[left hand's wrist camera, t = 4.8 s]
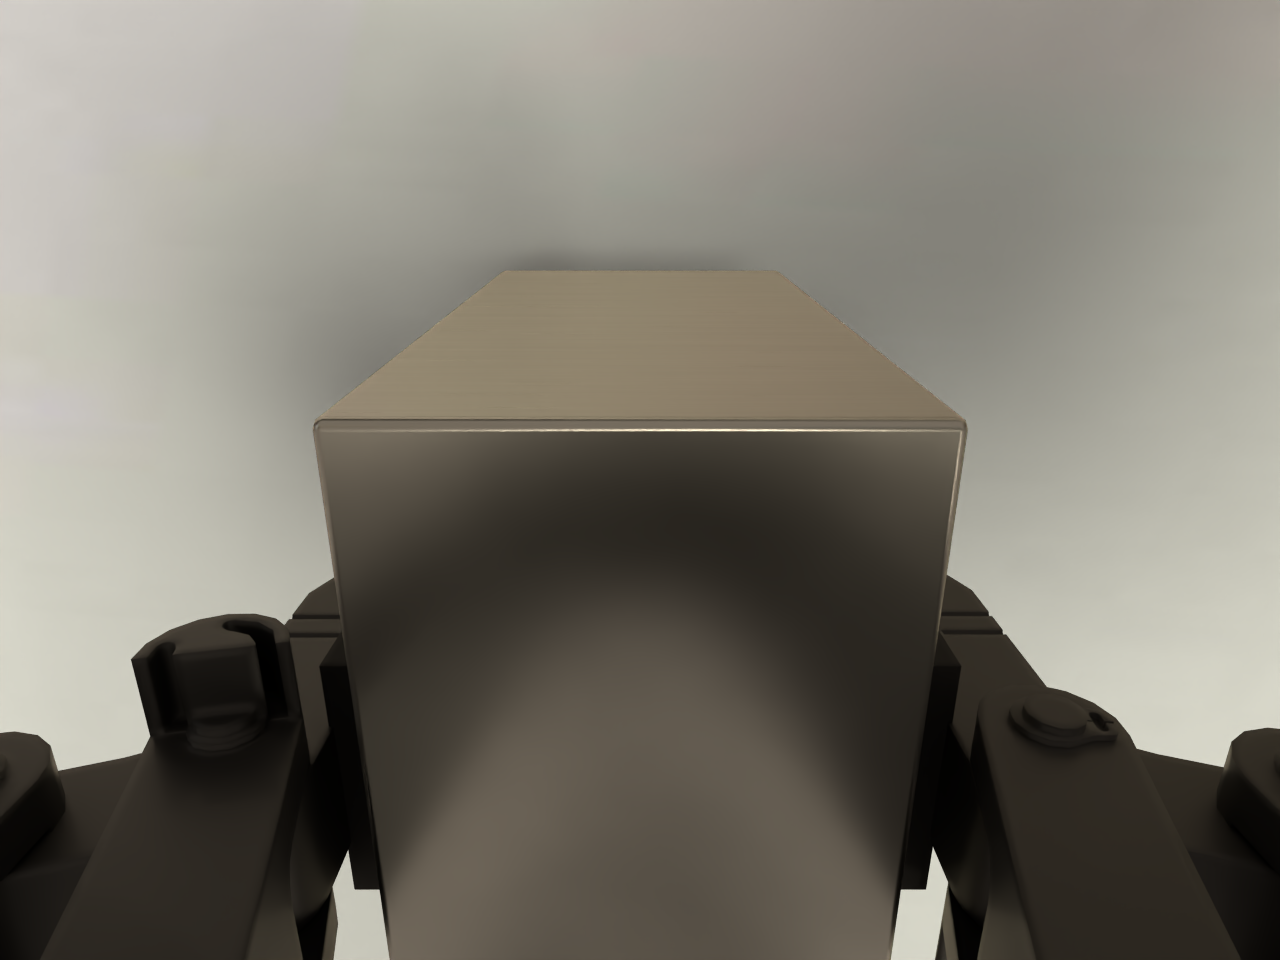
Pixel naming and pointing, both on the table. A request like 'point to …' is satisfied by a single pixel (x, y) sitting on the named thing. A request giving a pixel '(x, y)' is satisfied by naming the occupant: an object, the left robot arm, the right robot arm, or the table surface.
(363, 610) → the bar
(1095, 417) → the table surface
